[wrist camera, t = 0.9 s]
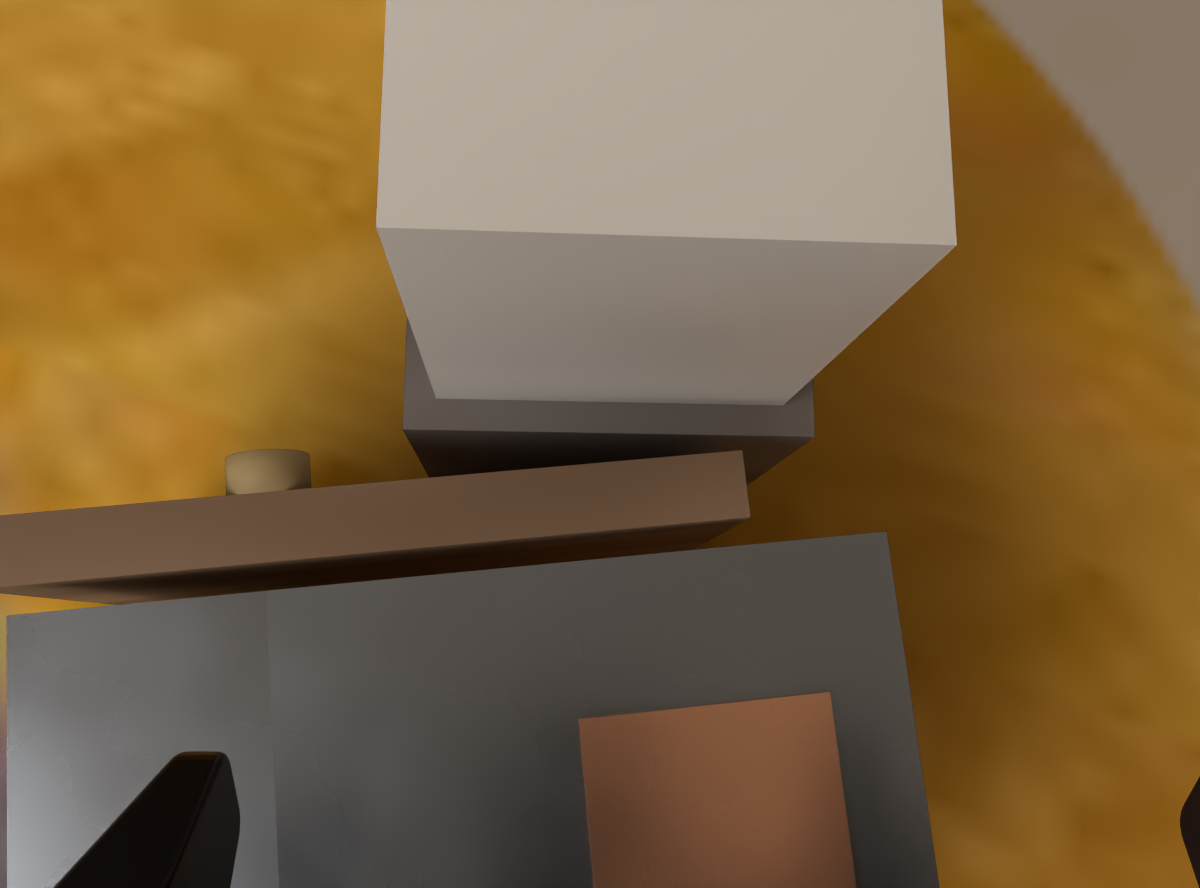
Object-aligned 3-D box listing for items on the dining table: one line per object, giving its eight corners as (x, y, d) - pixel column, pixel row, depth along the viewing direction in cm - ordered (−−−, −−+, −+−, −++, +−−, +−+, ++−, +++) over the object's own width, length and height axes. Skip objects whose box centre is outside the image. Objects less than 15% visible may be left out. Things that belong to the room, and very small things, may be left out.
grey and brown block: (843, 983, 20) (976, 1125, 14) (165, 1074, 19) (4, 1267, 13) (787, 562, 22) (888, 531, 16) (153, 624, 21) (3, 615, 15)
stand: (730, 496, 24) (814, 437, 17) (437, 492, 23) (402, 429, 17) (726, 241, 25) (803, 89, 18) (446, 233, 25) (416, 74, 18)
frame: (732, 1071, 22) (853, 1316, 14) (175, 1148, 21) (-40, 1460, 13) (666, 487, 24) (738, 408, 16) (158, 533, 23) (-34, 474, 15)
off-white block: (783, 405, 17) (956, 245, 10) (436, 399, 17) (375, 227, 10) (775, 115, 18) (929, -210, 11) (446, 103, 18) (396, -242, 11)
